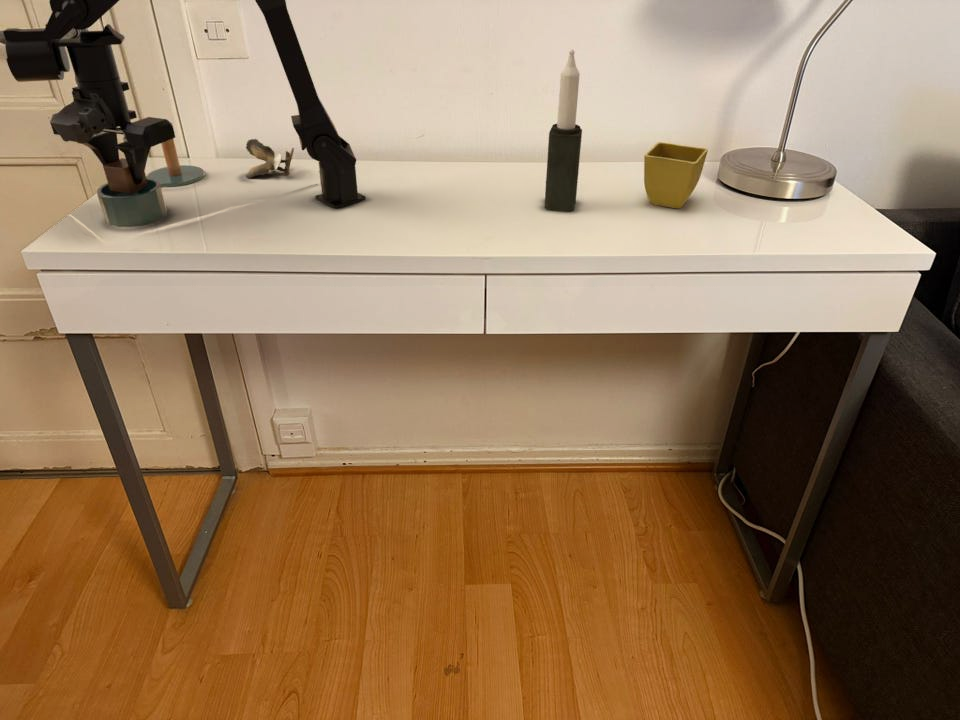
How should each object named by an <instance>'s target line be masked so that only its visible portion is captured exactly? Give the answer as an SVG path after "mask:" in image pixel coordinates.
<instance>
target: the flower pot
mask: <svg viewBox="0 0 960 720" xmlns="http://www.w3.org/2000/svg"><path fill="white" fill-rule="evenodd" d="M708 152H709V149H708V148H706V147H705V148H704V147H698V146H690V145H681V144H677V143H676V144H675V143H671V142H661V141H659V142H656V143H655V144H654V145H653V146H652V147H651V148H650V149H649V150H648V151H647V152H646V153H645V154H644V158H643V162H644V163H643V184H644V188H645V193H646V196H647V198H648V200H649V202H650V204H652V205H655V206H660V207H661V206H662V207H666V208H667V207H668V208H673V209H681V208H682V207H683V206H684V204H685V203H686V202H687V201H688V199H689V198H690V196H691V195H692V193H693V192H694V190H695V189H696V187H697V185H698V183H699V181H700V178H701V175H702V173H703V169H704V166H705V162H706V159H707V155H708Z"/></svg>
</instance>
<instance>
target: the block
mask: <svg viewBox="0 0 960 720" xmlns="http://www.w3.org/2000/svg"><path fill="white" fill-rule="evenodd" d="M102 168H103V171H104V175H105V179H106V181H107V183H108V185H109V188H110V191H116V192H122V193H128V194H131V193H133V192H135V191H138V190H140V189H142V188H144V187H146V186H148V182H147V178H146V176H147V174H146V170H145V171H144V176H143V180H142V183H140V184H138V185H137V184H135V182H134V180H133V178H132V176H131V173H130V170H129V167H128V164H127V161H126V158H125V157H124V158H123V157H122V158H119V160H116V161H114V162H111V163H109V164H106V165H103V164H102Z"/></svg>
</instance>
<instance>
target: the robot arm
mask: <svg viewBox="0 0 960 720" xmlns="http://www.w3.org/2000/svg"><path fill="white" fill-rule="evenodd" d="M254 1H255V3H256V5H257V6H258V8H259V10H260V12H261V13H262V15H263V18H264V20H265V22H266V25H267V28H268V30H269V33H270V36H271V38H272V42H273V45H274V46H275V49H276V52H277V55H278V57H279V60H280V62H281V65H282V68H283V70H284V73H285V76H286V79H287V81H288V84H289V87H290V89H291V92H292V95H293V97H294V100H295V103H296V106H297V112H298V113H297V114H295V115H291V116H290V119H291V122H292V127H293V128H294V130H295V132H296V134H297V136H298V140H299V144H300V148H301V150H302V151H305V150H306V151H307V154H308V156H309V157H310V158H311V159H312V160H315V161H316V162H318V169H319V171H318V172H319V179H320V187H321V193H320V194H316V195H314V198H315V200H317V201H319V202H321V203H323V204H325V205H327V206H329V207H332V208H334V209H339V208H343V207H346V206H349V205H352V204H356V203H359V202H362V201H365V200H366V198H367V197H366V196H365V195H364V194H361V193H359V192H358V191H359V190H358V183H357V171H356V170H357V169H356V165H357V164H356V163H357V158H356V156H355V154H354V152H353V148H352V147H351V144H350V143H349V142H348V141H346V140H345V139H344V138H343V137H342V136H340V134H339V132H338V130H337V128H336V125H335V124H334V122H333V120H332V118H331V116H330V115H329V113H328V110H327V109H326V107H325V106H324V104H323V102H322V101H321V99H320V97H319V95H318V92H317V90H316V86H315V84H314V80H313V78H312V76H311V72H310V70H309V66H308V64H307V61H306V58H305V55H304V53H303V50H302V47H301V45H300V41H299V39H298V35H297V33H296V30H295V27H294V25H293V22H292V19H291V16H290V13H289V10H288V6H287V0H254ZM119 2H120V0H49V6H50V10H51V14H50V16H49V18H48V21H47V23H46V24H44V26H45V27H44V28H33V29H32V28H30V29H27V28H26V29H25V28H24V29H23V28H18V27H17V28H16V27H13V28H12V27H10V28H5V29H4V30H3V32H2V33H3V37H4V41H5V42H4V43H5V44H4V45H5V47H4V48H5V54H6V58H5V61H6V62H7V66H8V68H9V71H10V73H11V76H12V77H13V78H14V80H15V81H17V83H23V82H24V83H25V82H26V83H27V82H45V81H47V82H48V81H62V80H64V78H65V73H69V72H70V71H71V70H70V69H71V68H72V69H73V73H74V76H75V79H76V83H77V86H74V87H71V90H72V91H71V95H72V99H73V100H72V102H70V103H69V104H67V105H65V106H64V107H63V108H62V109H60V110H59V111H57V113H53V114H52V116H51V119H50V121H49V124H50V126H51V130H52V132H53V135H55V136H57V135H58V136H60V138H61V140H62V141H63V142H67V143H68V142H74V143H77V144H81V145H83V146H85V147H87V148H89V149H90V150H91V151H92V152H93V154H94V155H95V156H96V158H97V159H98V161H99V162H100V164H102V166H103V165H106V164H109V163H111V162H114V161H116V160H119V159H120V152H122V153H123V155H124V159H126V161H127V164H128V167H129V170H130V173H131V176H132V178H133V180H134V182H135V184H137V185H138V184H140V183H142V180H143V176H144V171H145V172H146V166H147V162H148V158H149V154H150V152H151V149H152V148H153V147H155V146H158V145H160V144H161V143H163V142H165V141H168V140H170V139H176V133H175V129H174V125H173V123H172V122H171V121H170V120H169V119H167V118H160V117H152V116H147V117H144V118H141V119H139V120H136V121H132V120H134V119H137V118H138V116H137V113H136V110H131V109H129V107H128V102H127V99H126V95H125V92H126V91H129V90H130V86H129V82H127V81H121V76H120V72H119V69H118V65H117V62H116V57H115V54H114V50H113V46H114V45H119V46H120V45H122V44H123V42H124V41H125V40H126V38H125V36H124V34H122V33H120V32H119V31H117V30H116V29H114V28H113V27H112V25H111V24H109V23H107V24H106V25H105V26H104V27H103V30H86V29H89V28H90V27H93V25H94V24H95V23H96V22H97V21H98V20H100V19H101V18H102V17H103V16H104V15H105V14H106V13H107V12H109V11H110V10H111V9H112V8H113V7H114V6H115V5H116V4H117V3H119ZM72 30H77V31H79V32H80V33H79V37H77V38H76V37H75V38H64V37H65V36H66V35H68V34H69V33H70V32H71V31H72ZM82 30H83V31H82ZM70 64H71V65H70ZM71 66H72V67H71ZM118 135H122V136H123V137H122V140H123V141H122V142H118V141H119V140H118ZM119 151H120V152H119Z"/></svg>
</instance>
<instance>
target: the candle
mask: <svg viewBox="0 0 960 720" xmlns="http://www.w3.org/2000/svg"><path fill="white" fill-rule="evenodd" d="M568 54H569V55H568V58H567V61H566V63H565V66H564V67H563V69H562V70H561V72H560V77H559V78H560V79H559V93H558V105H557V106H558V107H557V108H558V109H557V122H556V123H554V124H553V125H552V126H551V128H550V130H549V132H548V144H547V145H548V147H547V158H546V159H547V161H546V175H545V191H544V209H545V210H546V211H553V212H565V213H570V212H574V211H575V206H576V203H577V193H578V192H577V191H578V183H579V181H578V180H579V170H580V157H581V147H582V138H583V137H582V135H583V129H582V128H581V126H580V125H579V124H576V123H577V110H578V97H579V87H580V84H579V83H580V76H581V75H580V71H579V69H578V67H577V65H576V64H577V63H576V60H575V50H574V49H573V48H572V49H569V51H568Z"/></svg>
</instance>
